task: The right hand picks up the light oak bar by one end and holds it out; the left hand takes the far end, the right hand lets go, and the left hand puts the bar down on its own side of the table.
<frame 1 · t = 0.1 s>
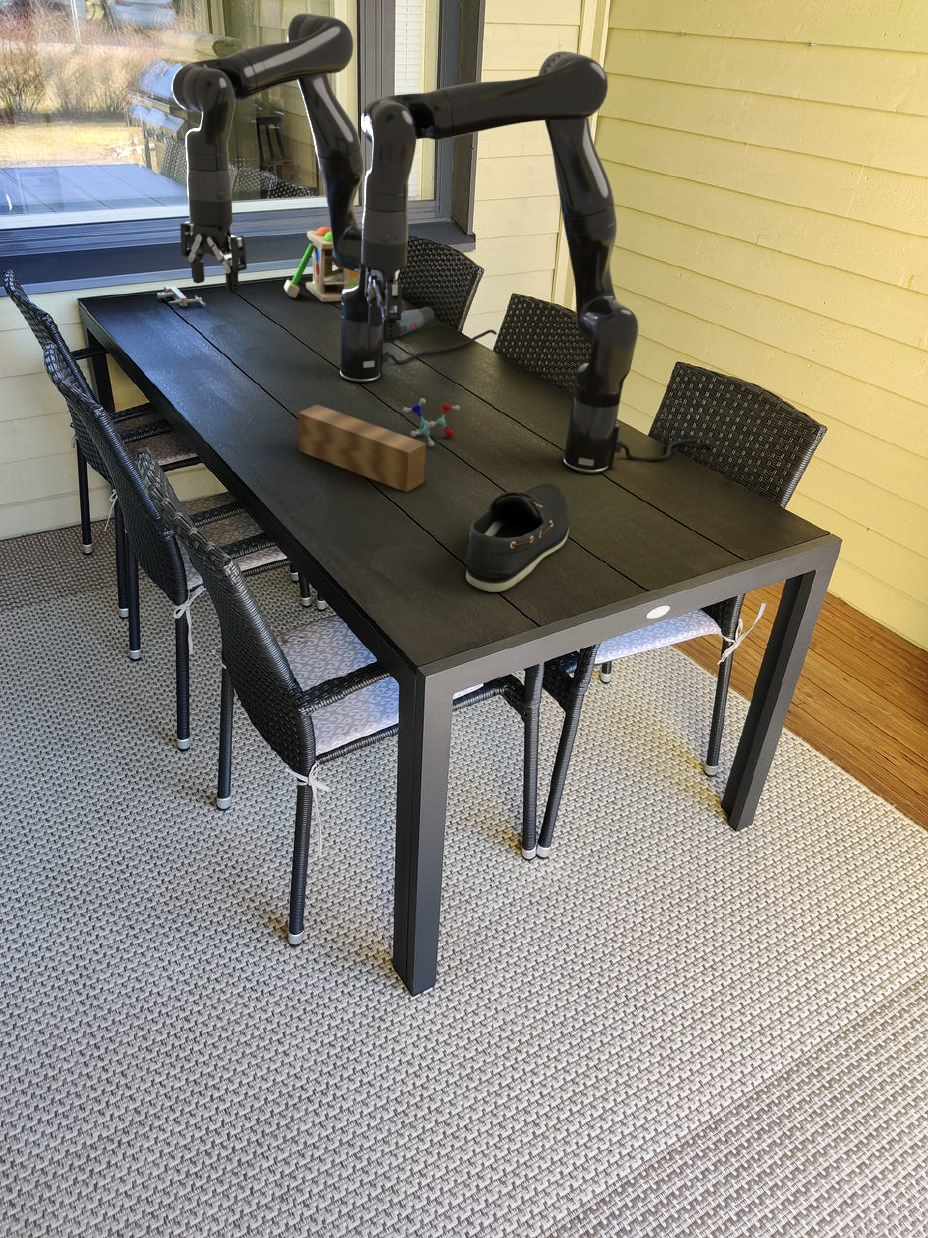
left hand: (215, 287, 183), 29 cm above the table, tool pointing down, fingers open, 8 cm apart
right hand: (381, 333, 170), 29 cm above the table, tool pointing down, fingers open, 8 cm apart
power drill: (390, 324, 265), on the table
boat shoe: (517, 548, 171), on the table
clamp: (180, 302, 266), on the table
bar: (360, 466, 192), on the table
pounding bench toy: (323, 294, 282), on the table
molecular model: (427, 438, 206), on the table
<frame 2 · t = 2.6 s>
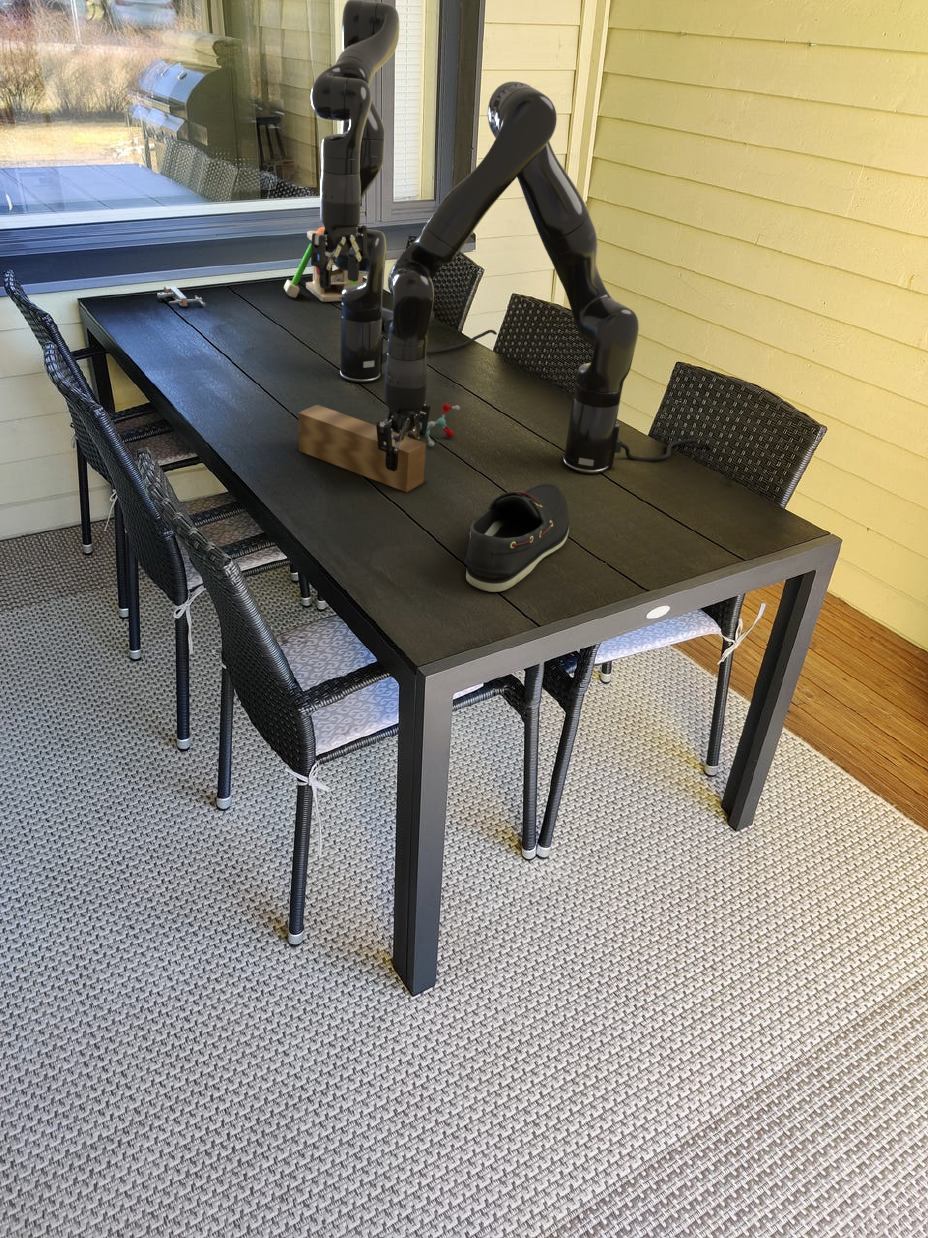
left hand: (339, 284, 194), 29 cm above the table, tool pointing down, fingers open, 8 cm apart
right hand: (401, 463, 186), 4 cm above the table, tool pointing down, fingers closed on bar, 5 cm apart
bar: (360, 466, 192), on the table, touching right hand
everything else where it was.
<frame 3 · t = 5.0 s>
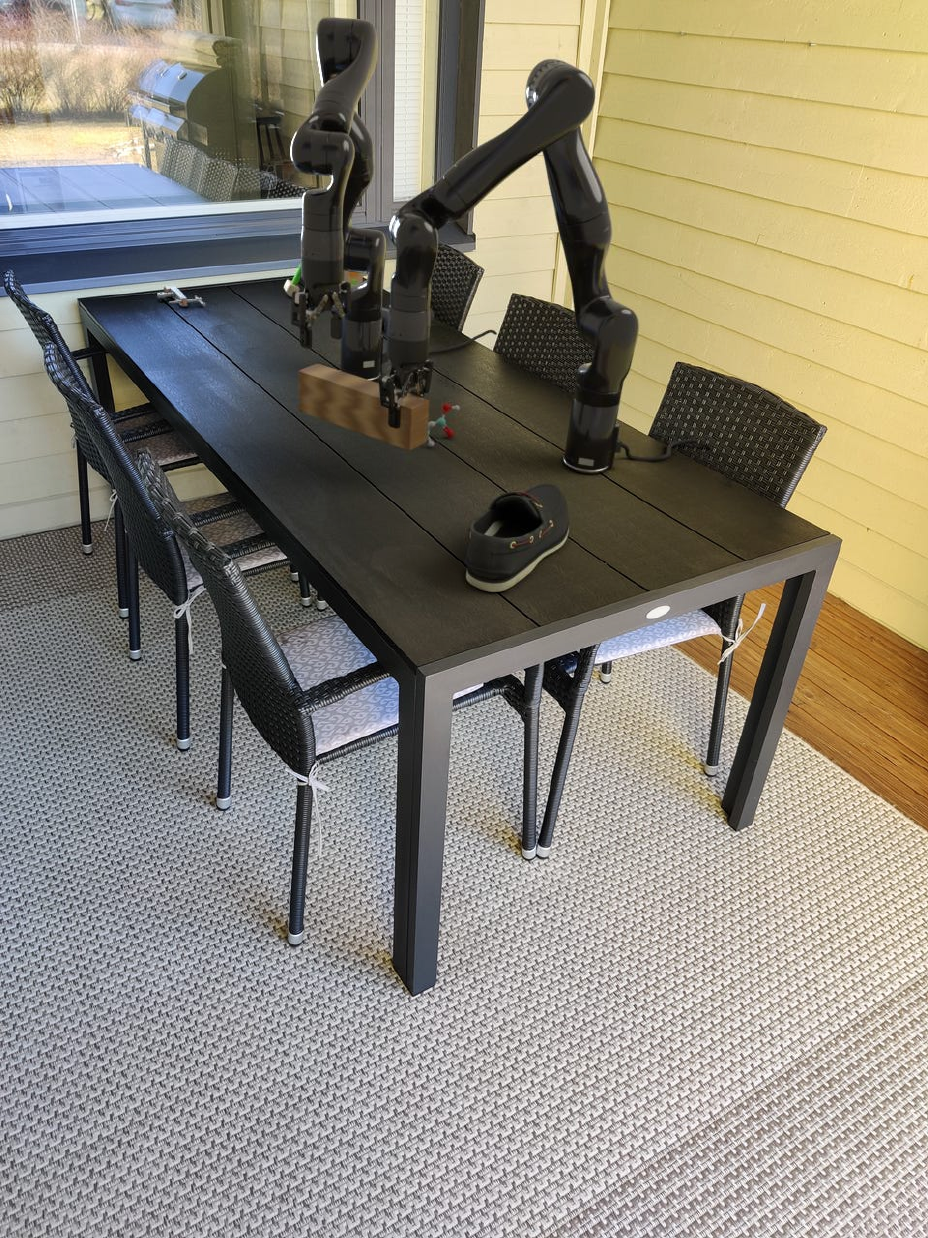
left hand: (321, 342, 184), 22 cm above the table, tool pointing down, fingers open, 8 cm apart
right hand: (404, 421, 181), 12 cm above the table, tool pointing down, fingers closed on bar, 5 cm apart
bar: (361, 425, 187), point 8 cm above the table, touching right hand
everything else where it was.
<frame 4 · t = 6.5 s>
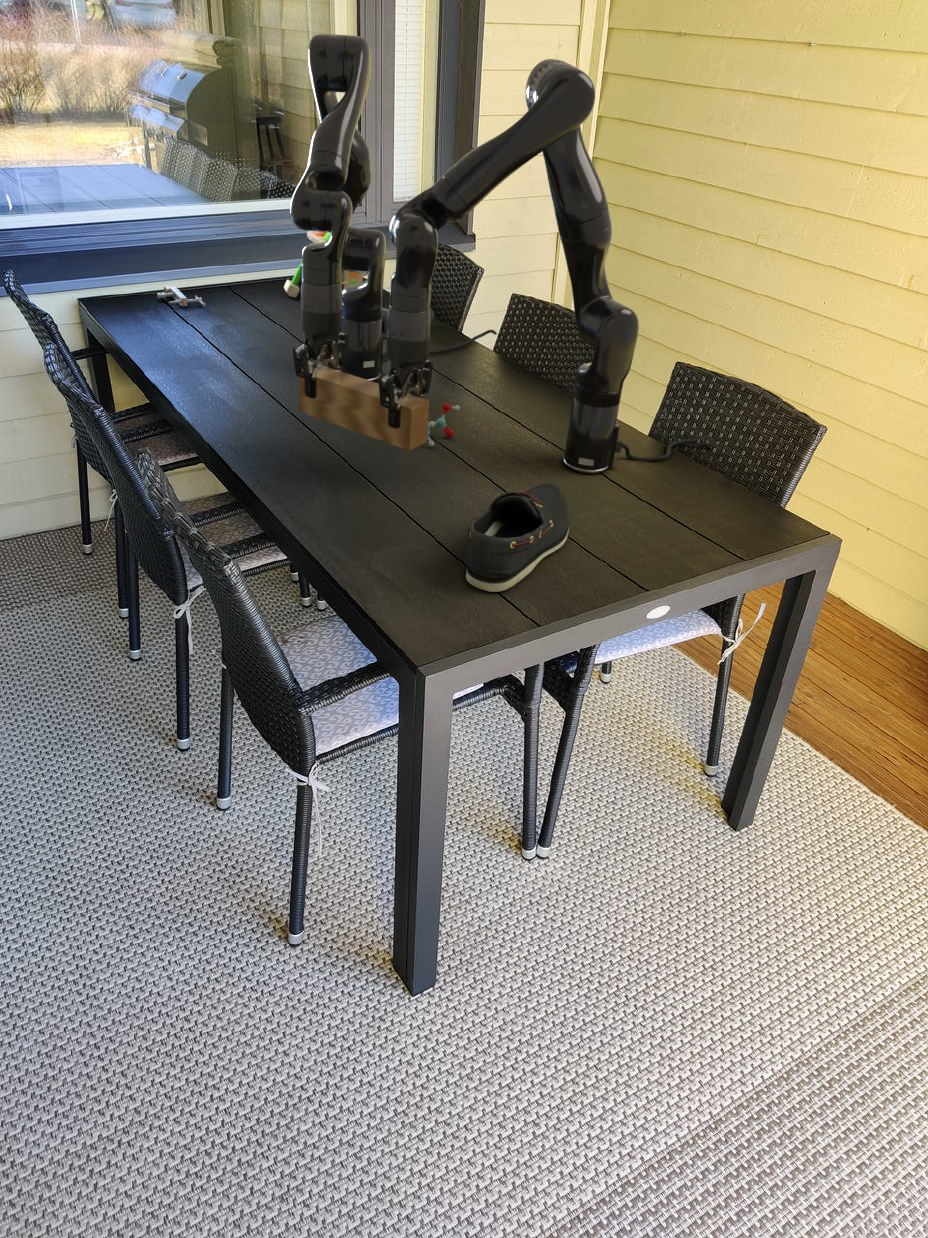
left hand: (321, 392, 189), 12 cm above the table, tool pointing down, fingers closed on bar, 5 cm apart
right hand: (404, 421, 181), 12 cm above the table, tool pointing down, fingers closed on bar, 5 cm apart
bar: (361, 426, 187), point 8 cm above the table, touching left hand, right hand
everything else where it was.
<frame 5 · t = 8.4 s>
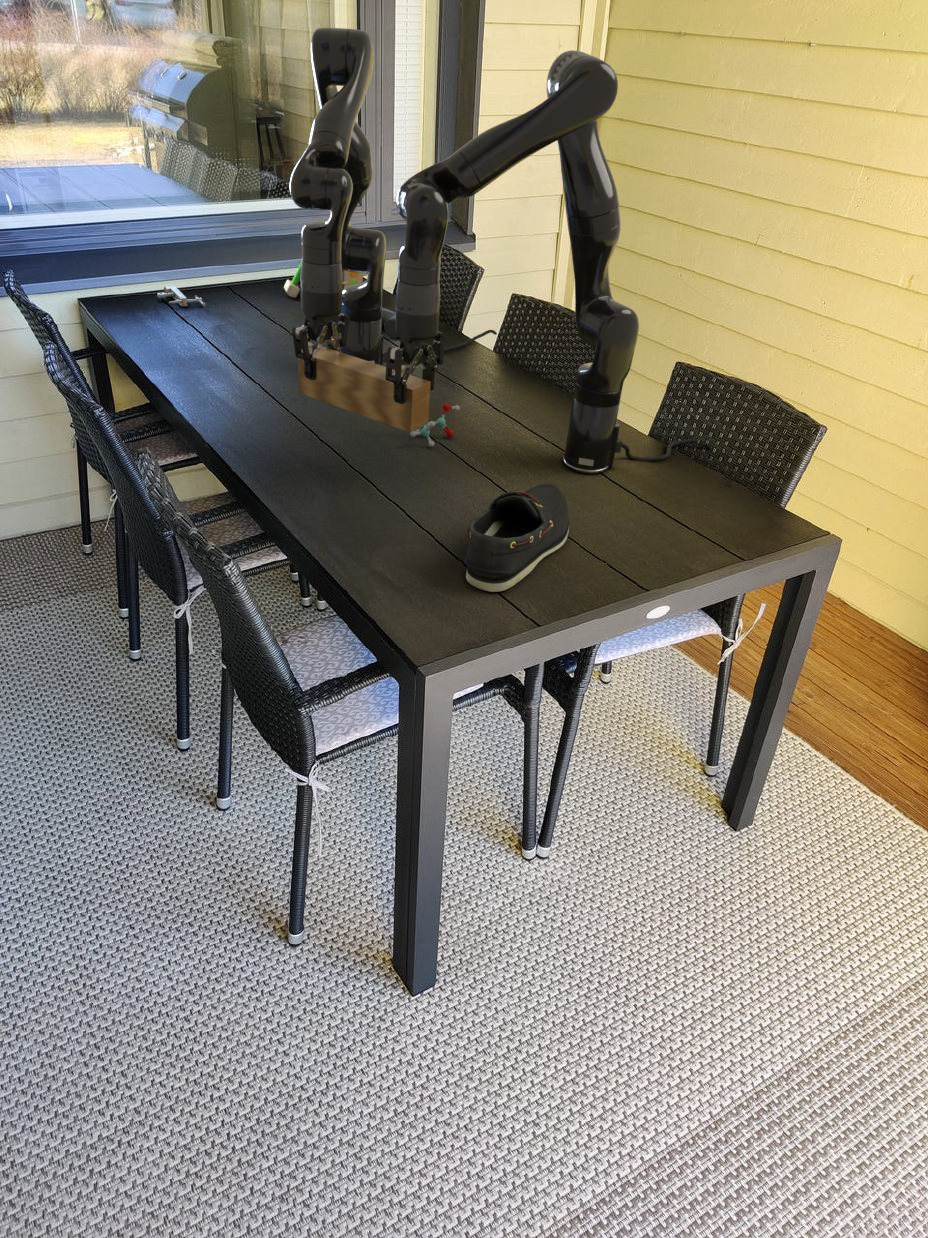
left hand: (321, 374, 187), 16 cm above the table, tool pointing down, fingers closed on bar, 5 cm apart
right hand: (414, 395, 177), 18 cm above the table, tool pointing down, fingers open, 8 cm apart
bar: (362, 407, 185), point 12 cm above the table, touching left hand
everything else where it was.
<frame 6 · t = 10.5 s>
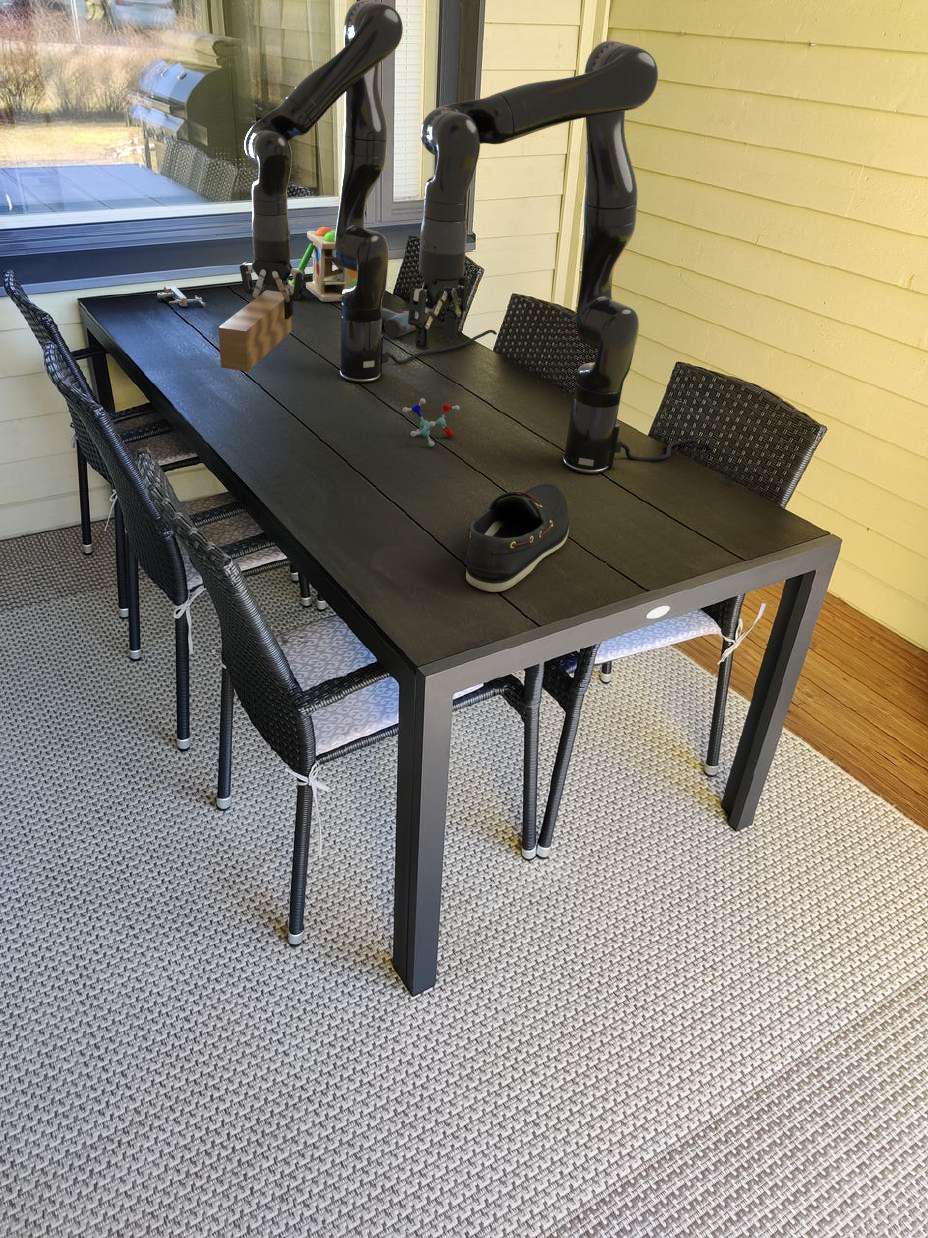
left hand: (274, 315, 212), 16 cm above the table, tool pointing down, fingers closed on bar, 5 cm apart
right hand: (436, 343, 169), 29 cm above the table, tool pointing down, fingers open, 8 cm apart
bar: (258, 348, 206), point 12 cm above the table, touching left hand
everything else where it was.
when the left hand's fingers open (5 cm above the table, at t = 14.7 s): bar drops 1 cm, on the table.
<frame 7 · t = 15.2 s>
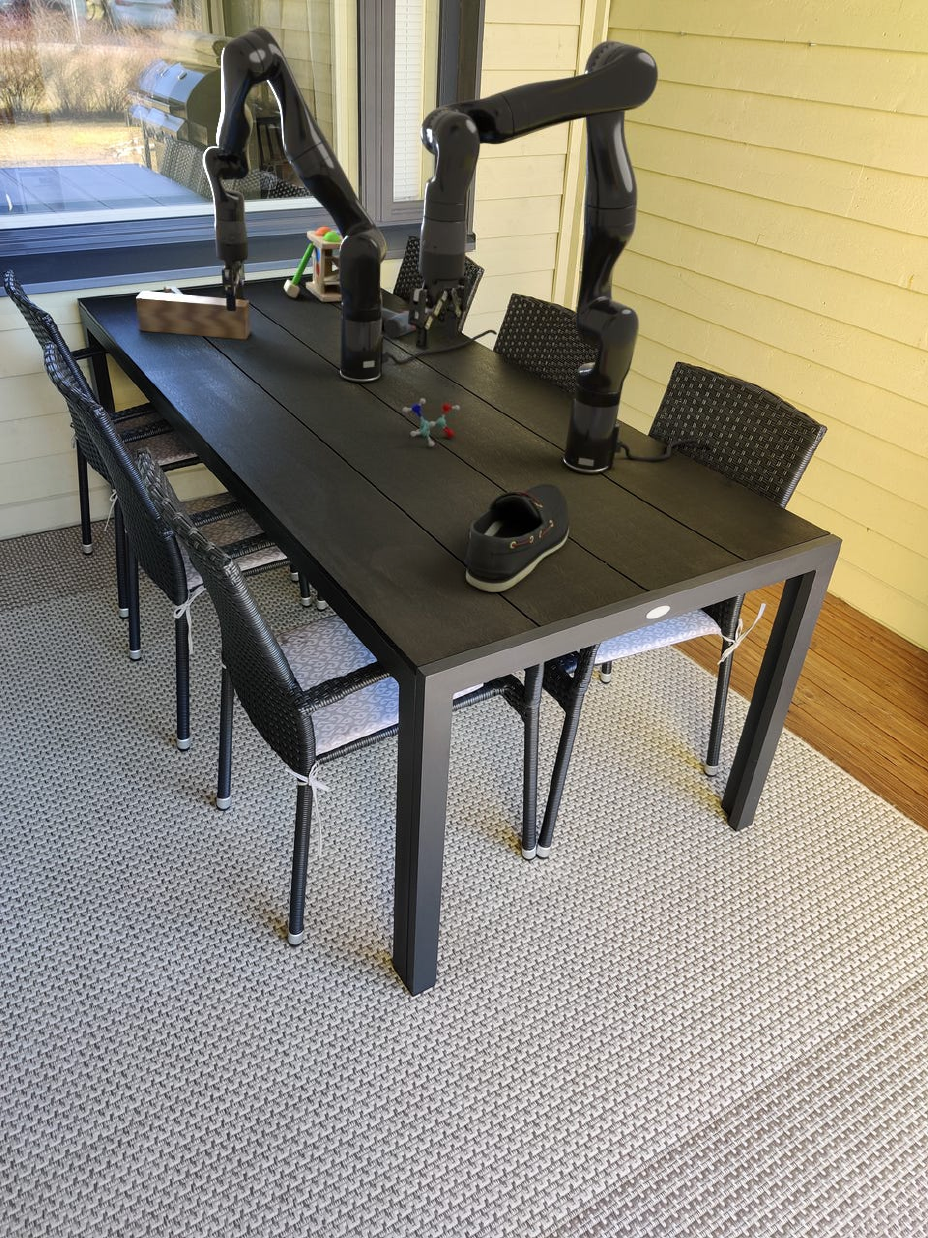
left hand: (235, 305, 244), 7 cm above the table, tool pointing down, fingers open, 8 cm apart
right hand: (436, 343, 169), 29 cm above the table, tool pointing down, fingers open, 8 cm apart
bar: (195, 331, 248), on the table
everything else where it was.
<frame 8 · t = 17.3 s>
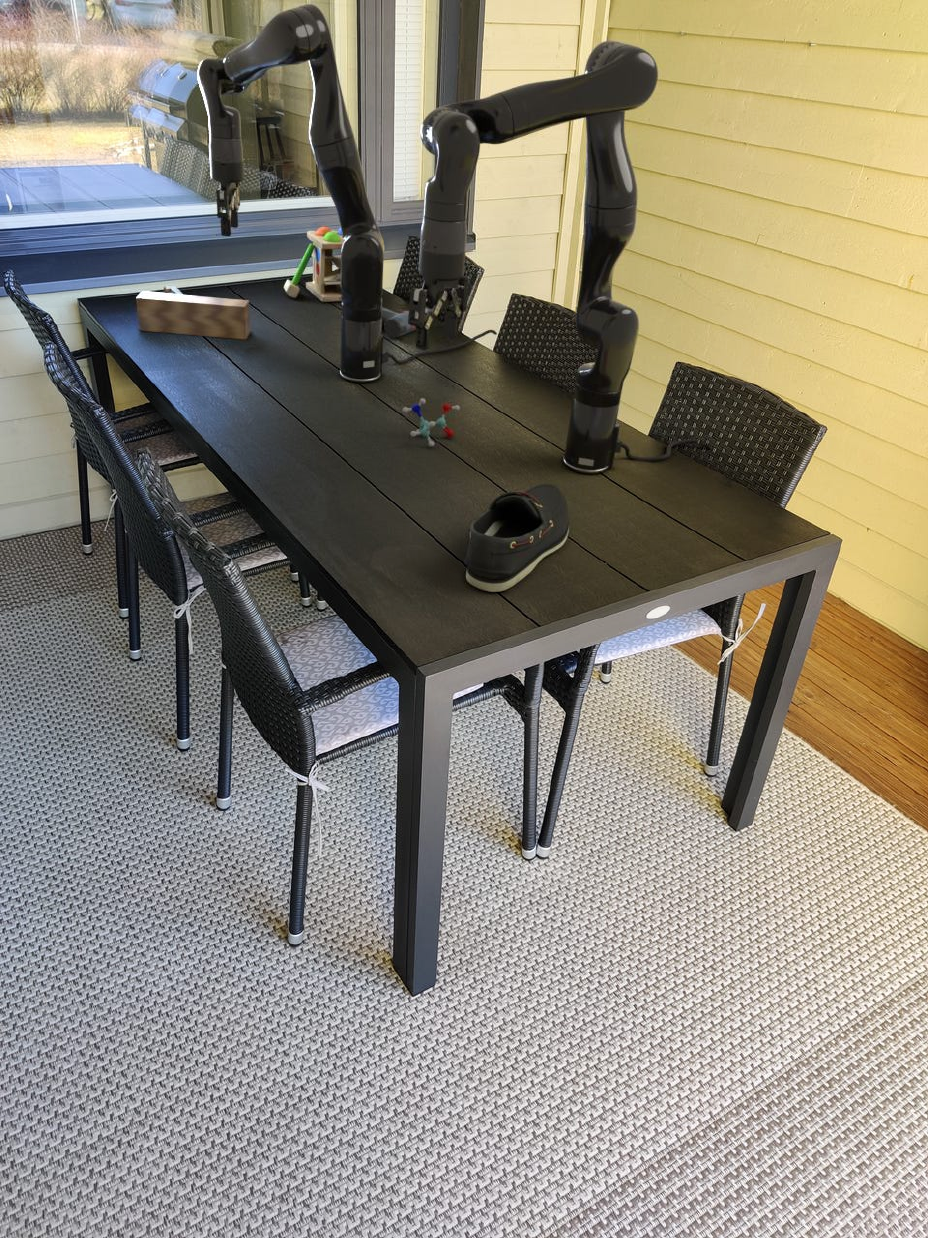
left hand: (230, 231, 234), 25 cm above the table, tool pointing down, fingers open, 8 cm apart
right hand: (436, 343, 169), 29 cm above the table, tool pointing down, fingers open, 8 cm apart
nothing on the table moved.
at the end: bar inside the target area (10.0 cm from its centre), on the table; the left hand is holding nothing; the right hand is holding nothing; bar at rest at the end (0.0 cm/s) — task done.
